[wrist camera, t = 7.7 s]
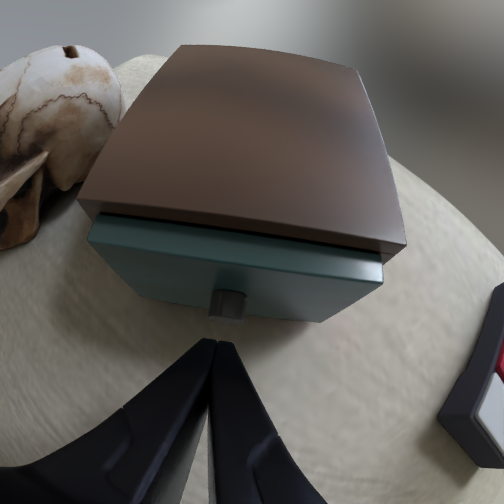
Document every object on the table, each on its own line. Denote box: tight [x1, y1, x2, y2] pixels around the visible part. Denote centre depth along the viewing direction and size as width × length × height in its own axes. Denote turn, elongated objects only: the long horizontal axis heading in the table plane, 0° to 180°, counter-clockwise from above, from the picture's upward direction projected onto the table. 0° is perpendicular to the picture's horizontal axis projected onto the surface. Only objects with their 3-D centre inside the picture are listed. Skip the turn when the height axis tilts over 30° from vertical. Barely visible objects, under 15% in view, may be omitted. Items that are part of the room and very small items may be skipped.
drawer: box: [87, 214, 383, 325], centre depth 14 cm, size 14×11×7 cm
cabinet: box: [76, 45, 407, 266], centre depth 15 cm, size 14×12×9 cm
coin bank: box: [0, 45, 127, 250], centre depth 14 cm, size 16×17×13 cm
